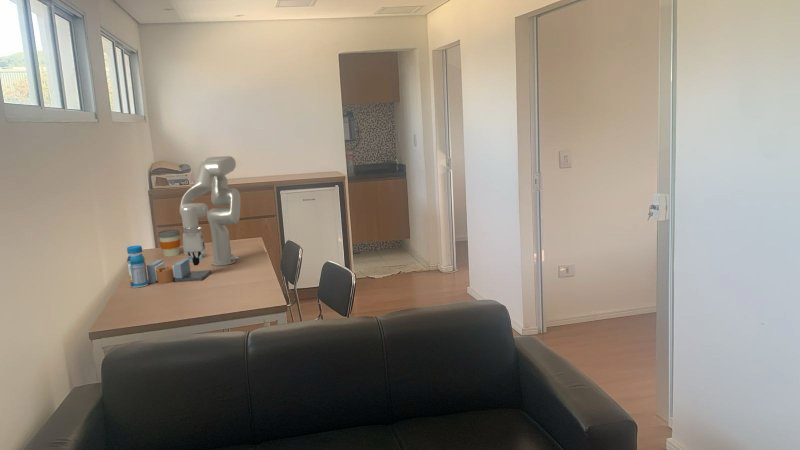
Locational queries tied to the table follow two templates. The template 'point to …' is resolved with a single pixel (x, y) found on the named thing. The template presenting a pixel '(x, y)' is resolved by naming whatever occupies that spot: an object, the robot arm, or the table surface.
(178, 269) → the block
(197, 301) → the table surface
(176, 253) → the reusable coffee cup
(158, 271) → the bracket
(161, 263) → the block
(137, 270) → the beverage bottle
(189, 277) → the plate
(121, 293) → the table surface
